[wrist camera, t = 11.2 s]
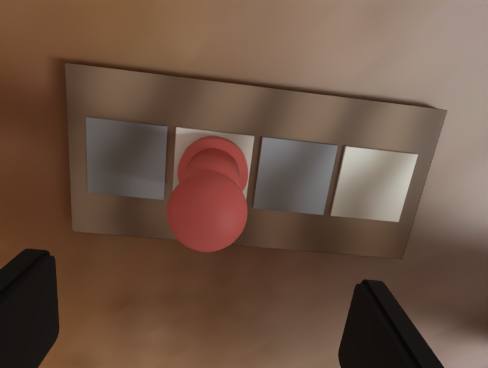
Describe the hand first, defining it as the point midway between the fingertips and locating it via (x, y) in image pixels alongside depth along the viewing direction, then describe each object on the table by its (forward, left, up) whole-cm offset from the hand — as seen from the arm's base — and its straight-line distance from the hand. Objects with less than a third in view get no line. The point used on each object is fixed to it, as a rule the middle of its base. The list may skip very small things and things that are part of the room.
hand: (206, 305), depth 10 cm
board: (-3, 0, -16) cm, 16 cm away
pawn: (0, 0, -15) cm, 15 cm away
